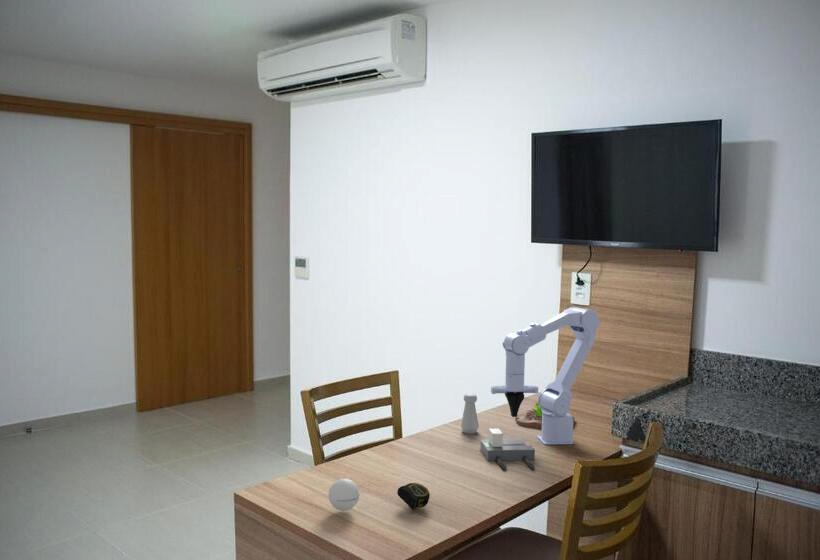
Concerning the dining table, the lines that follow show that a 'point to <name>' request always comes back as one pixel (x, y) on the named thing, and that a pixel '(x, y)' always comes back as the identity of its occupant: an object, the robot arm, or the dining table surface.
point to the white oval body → (344, 494)
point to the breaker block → (508, 450)
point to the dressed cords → (523, 459)
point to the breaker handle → (495, 438)
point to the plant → (532, 418)
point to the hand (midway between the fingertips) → (513, 416)
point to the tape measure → (414, 495)
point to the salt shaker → (470, 415)
